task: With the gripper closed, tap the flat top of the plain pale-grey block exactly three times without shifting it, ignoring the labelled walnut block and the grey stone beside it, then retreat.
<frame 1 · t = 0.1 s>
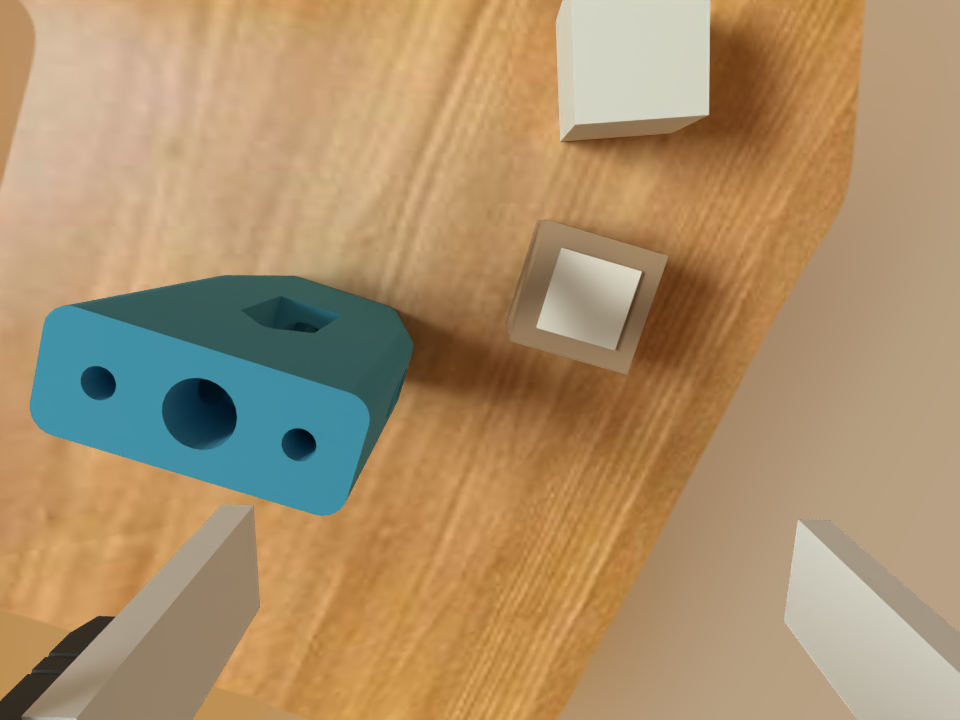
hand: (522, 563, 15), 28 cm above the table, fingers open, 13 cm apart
block: (334, 326, 42), on the table
marked block: (571, 287, 42), on the table
plain block: (614, 78, 39), on the table
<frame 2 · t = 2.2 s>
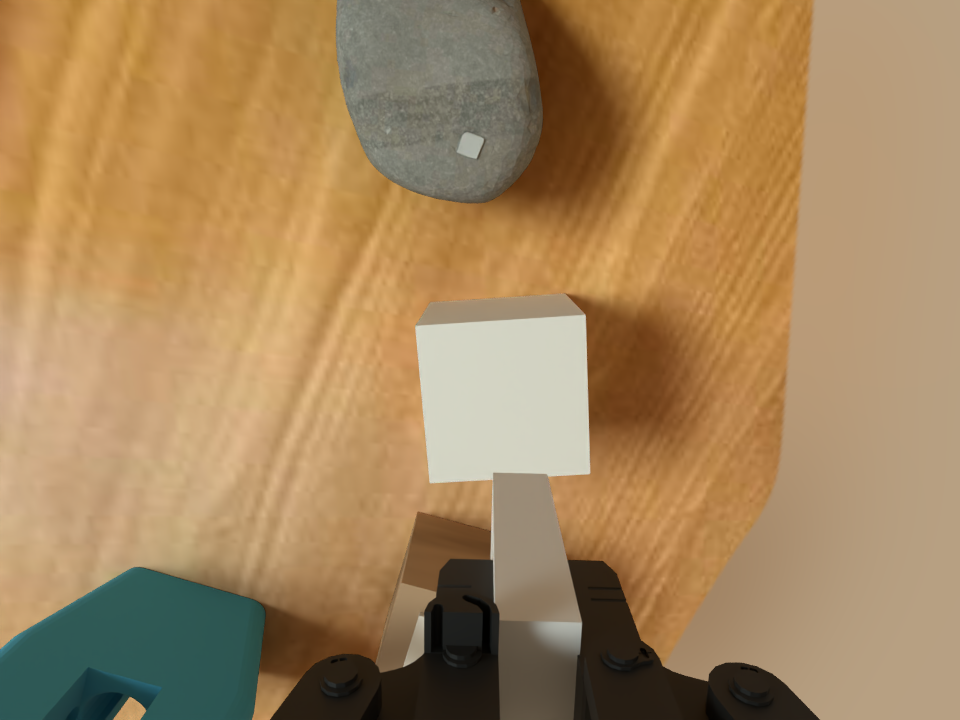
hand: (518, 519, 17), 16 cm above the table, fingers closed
stone: (448, 79, 30), on the table
block: (190, 617, 37), on the table
marked block: (460, 579, 36), on the table
plain block: (501, 363, 33), on the table
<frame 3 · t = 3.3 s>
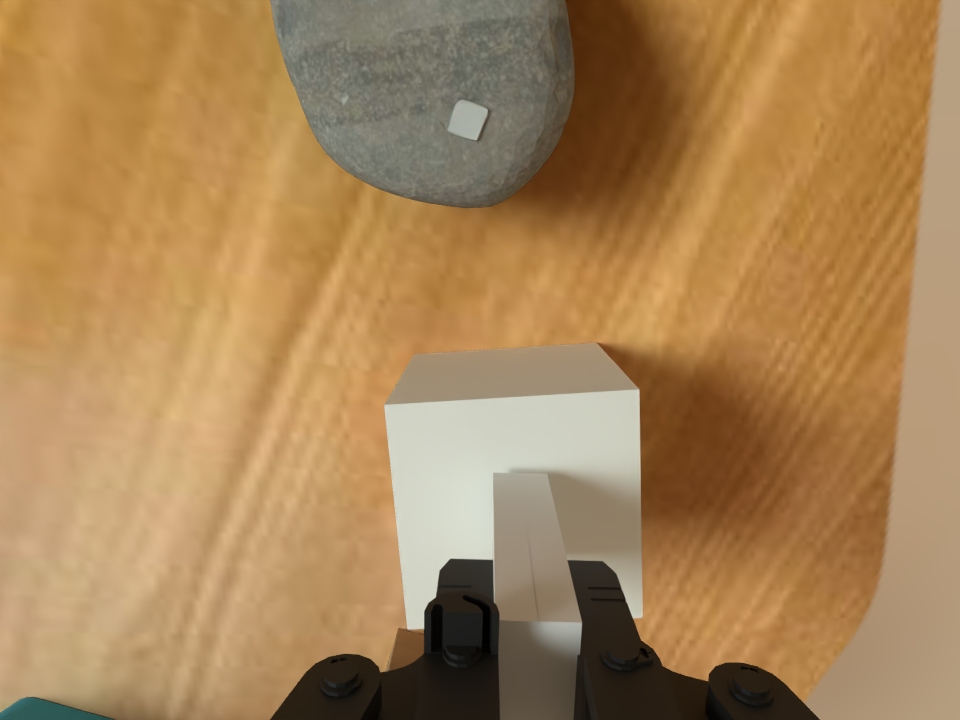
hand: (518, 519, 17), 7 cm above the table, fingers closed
stone: (438, 39, 22), on the table
marked block: (455, 715, 27), on the table
plain block: (510, 434, 25), on the table
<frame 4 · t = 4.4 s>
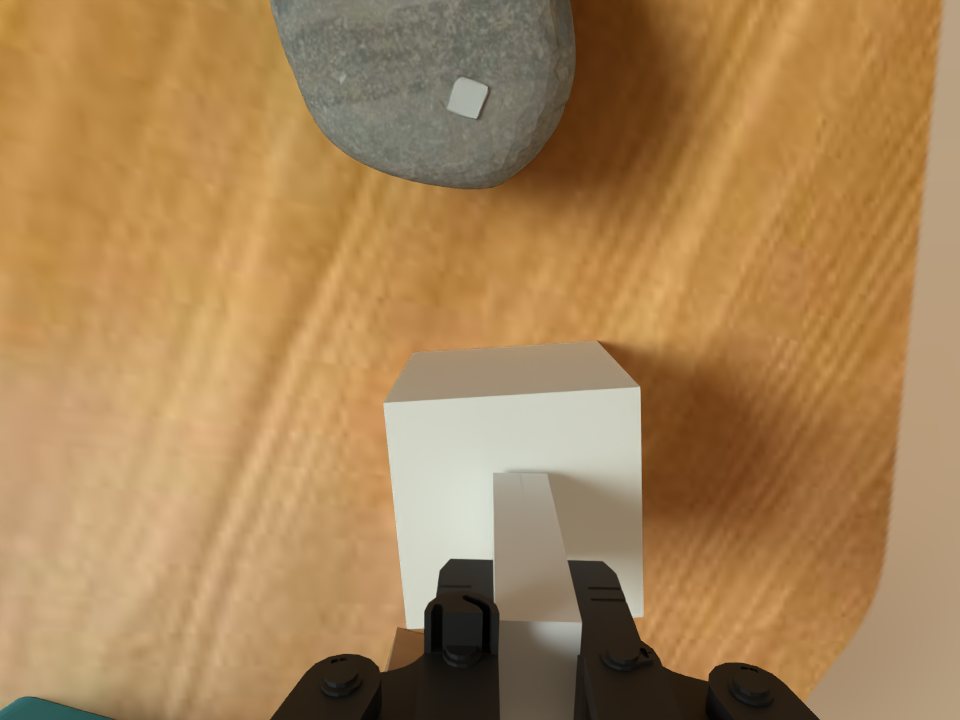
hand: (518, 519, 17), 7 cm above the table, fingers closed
stone: (437, 21, 22), on the table
marked block: (454, 714, 27), on the table
plain block: (509, 433, 25), on the table
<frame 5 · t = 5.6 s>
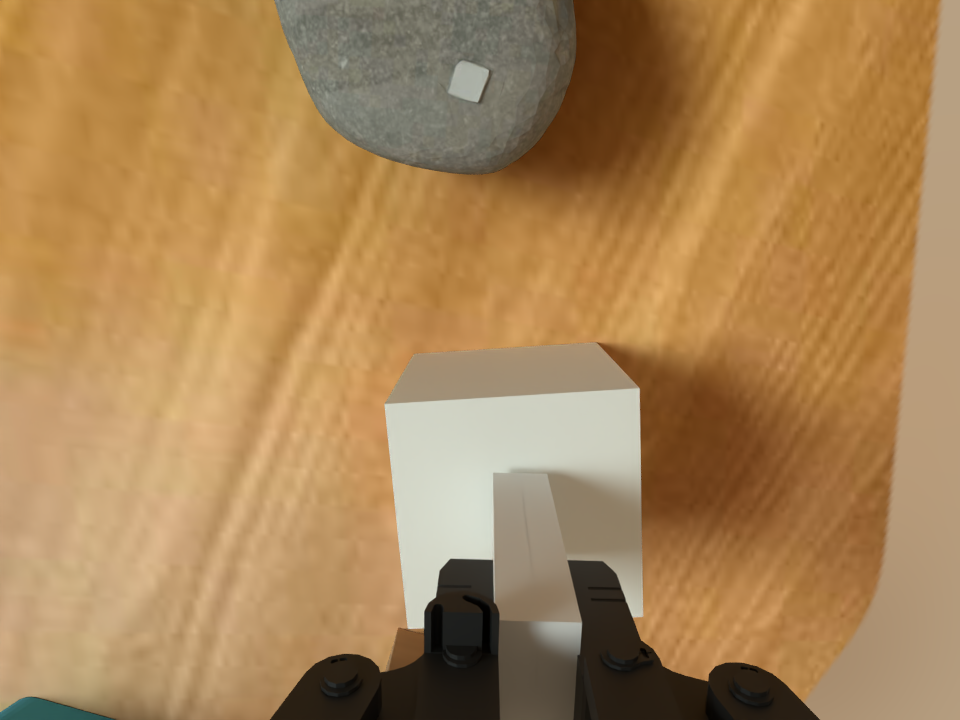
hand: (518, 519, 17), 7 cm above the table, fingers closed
stone: (437, 10, 22), on the table
marked block: (455, 714, 27), on the table
plain block: (510, 434, 25), on the table
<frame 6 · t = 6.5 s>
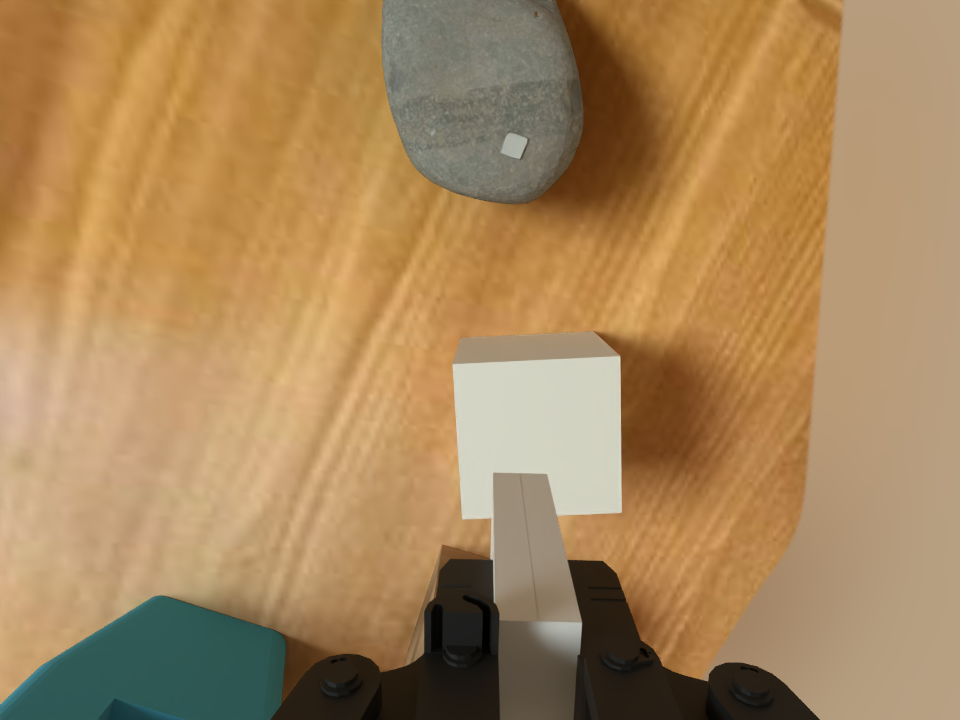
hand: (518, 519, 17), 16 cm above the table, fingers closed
stone: (485, 86, 31), on the table
block: (211, 647, 37), on the table
marked block: (482, 614, 36), on the table
plain block: (529, 398, 34), on the table
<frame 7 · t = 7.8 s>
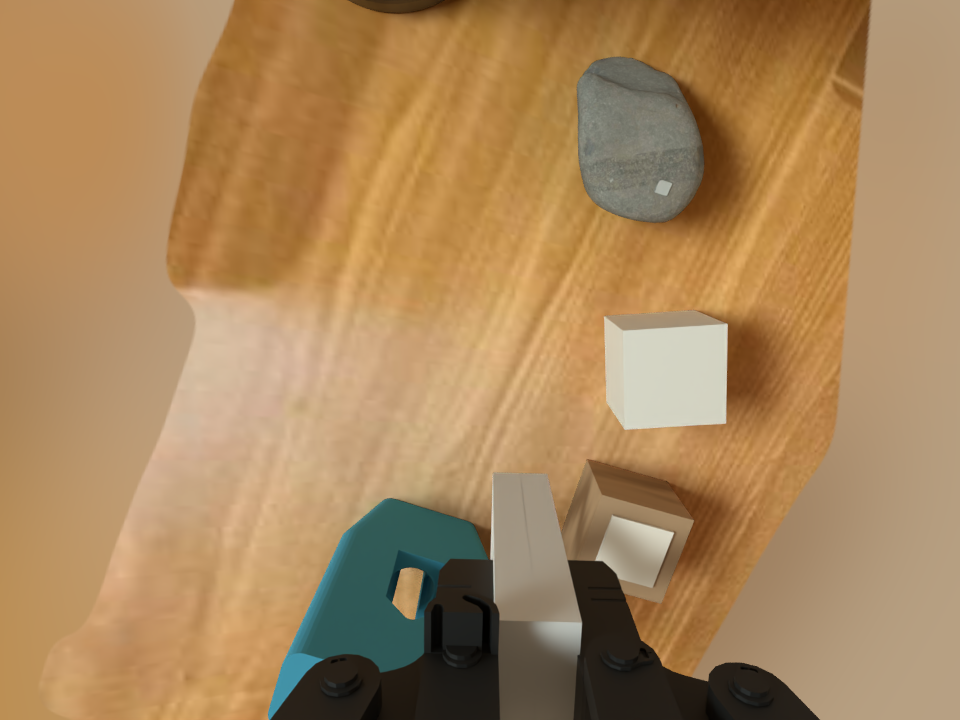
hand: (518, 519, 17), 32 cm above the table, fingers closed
stone: (625, 142, 46), on the table
block: (422, 534, 53), on the table
marked block: (613, 507, 52), on the table
plain block: (649, 356, 49), on the table
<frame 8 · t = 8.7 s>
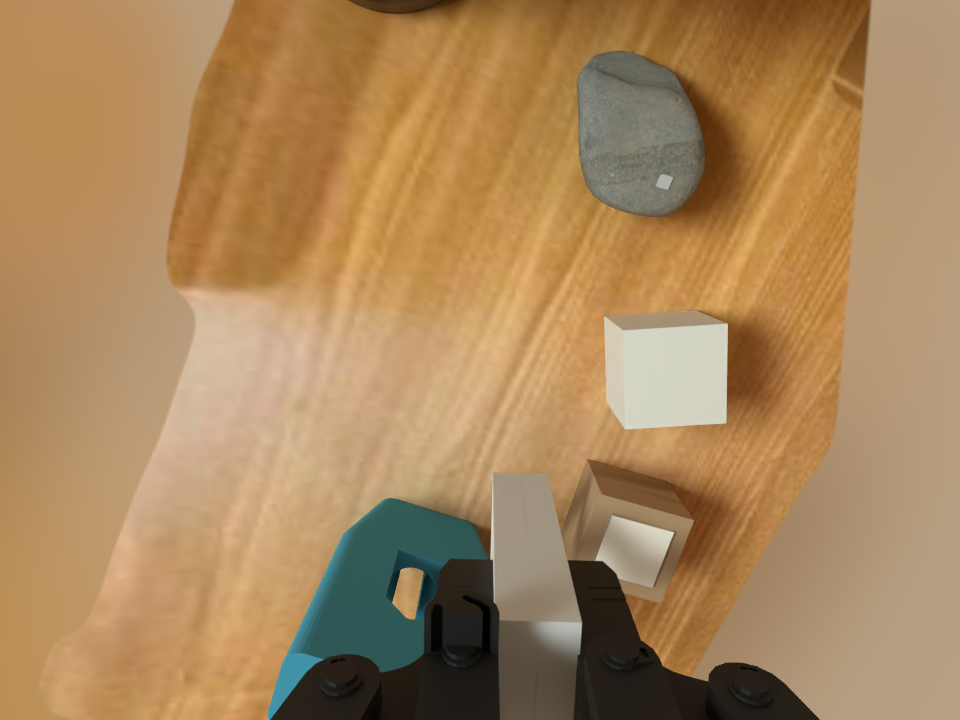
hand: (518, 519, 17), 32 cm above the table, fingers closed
stone: (626, 136, 46), on the table
block: (422, 534, 53), on the table
marked block: (613, 507, 52), on the table
plain block: (649, 356, 49), on the table
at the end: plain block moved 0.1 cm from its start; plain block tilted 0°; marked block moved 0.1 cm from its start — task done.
